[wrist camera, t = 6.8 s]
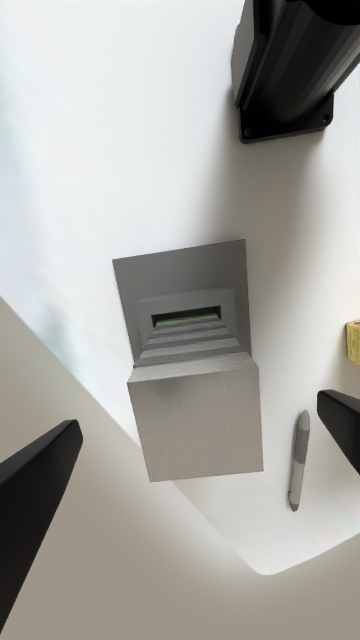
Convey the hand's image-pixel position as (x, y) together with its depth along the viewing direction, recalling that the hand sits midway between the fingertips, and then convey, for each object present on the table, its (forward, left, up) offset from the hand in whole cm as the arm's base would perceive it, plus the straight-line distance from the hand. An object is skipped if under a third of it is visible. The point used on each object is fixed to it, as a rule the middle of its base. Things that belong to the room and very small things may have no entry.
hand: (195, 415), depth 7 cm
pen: (-10, +17, -12) cm, 23 cm away
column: (0, 0, -7) cm, 7 cm away
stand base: (0, 0, -11) cm, 11 cm away
